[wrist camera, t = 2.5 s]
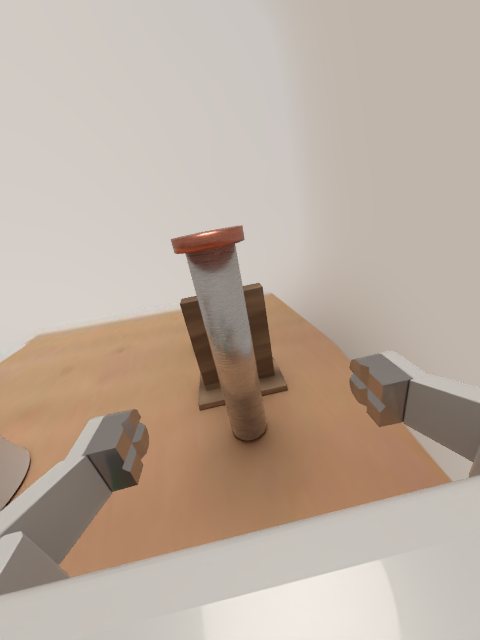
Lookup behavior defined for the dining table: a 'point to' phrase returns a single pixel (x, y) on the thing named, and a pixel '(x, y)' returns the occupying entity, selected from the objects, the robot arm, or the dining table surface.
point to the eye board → (258, 324)
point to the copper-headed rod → (226, 324)
